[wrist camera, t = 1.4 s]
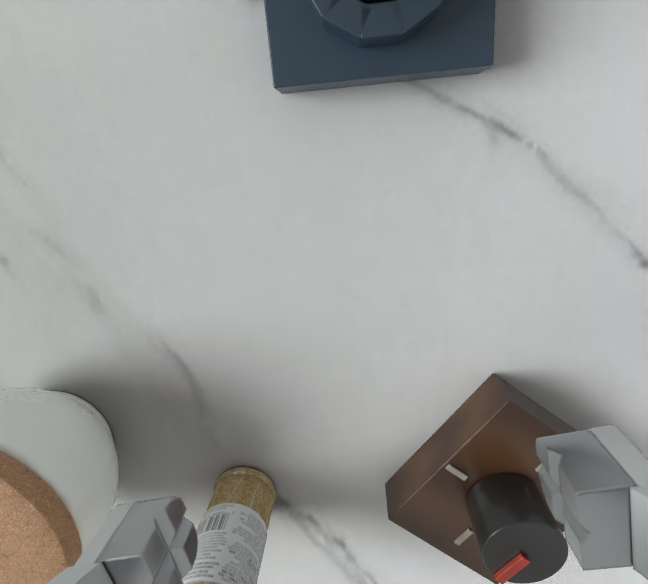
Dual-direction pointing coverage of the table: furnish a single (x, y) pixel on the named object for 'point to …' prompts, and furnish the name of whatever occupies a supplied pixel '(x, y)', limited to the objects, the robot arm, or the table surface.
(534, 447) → the dial panel
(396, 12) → the button housing
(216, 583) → the sprinkles bottle
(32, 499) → the decorative box
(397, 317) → the table surface
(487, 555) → the dial
